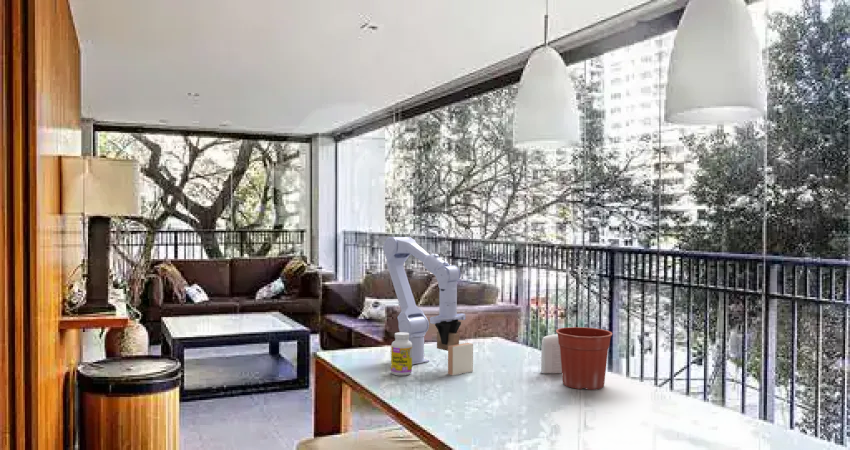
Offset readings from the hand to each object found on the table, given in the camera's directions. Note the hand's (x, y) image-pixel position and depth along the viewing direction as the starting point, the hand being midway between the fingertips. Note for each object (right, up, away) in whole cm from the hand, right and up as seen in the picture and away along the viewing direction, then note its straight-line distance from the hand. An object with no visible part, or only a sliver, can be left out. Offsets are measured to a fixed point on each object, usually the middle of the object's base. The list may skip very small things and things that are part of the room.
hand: (447, 343), depth 215 cm
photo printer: (+35, -9, -3) cm, 36 cm away
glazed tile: (+4, -9, -4) cm, 10 cm away
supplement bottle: (-15, -9, -7) cm, 18 cm away
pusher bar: (0, -2, 0) cm, 2 cm away
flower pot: (+40, -9, -19) cm, 45 cm away
